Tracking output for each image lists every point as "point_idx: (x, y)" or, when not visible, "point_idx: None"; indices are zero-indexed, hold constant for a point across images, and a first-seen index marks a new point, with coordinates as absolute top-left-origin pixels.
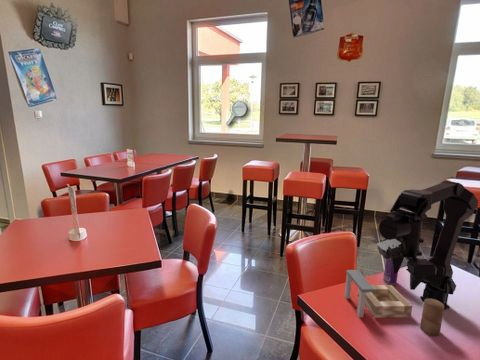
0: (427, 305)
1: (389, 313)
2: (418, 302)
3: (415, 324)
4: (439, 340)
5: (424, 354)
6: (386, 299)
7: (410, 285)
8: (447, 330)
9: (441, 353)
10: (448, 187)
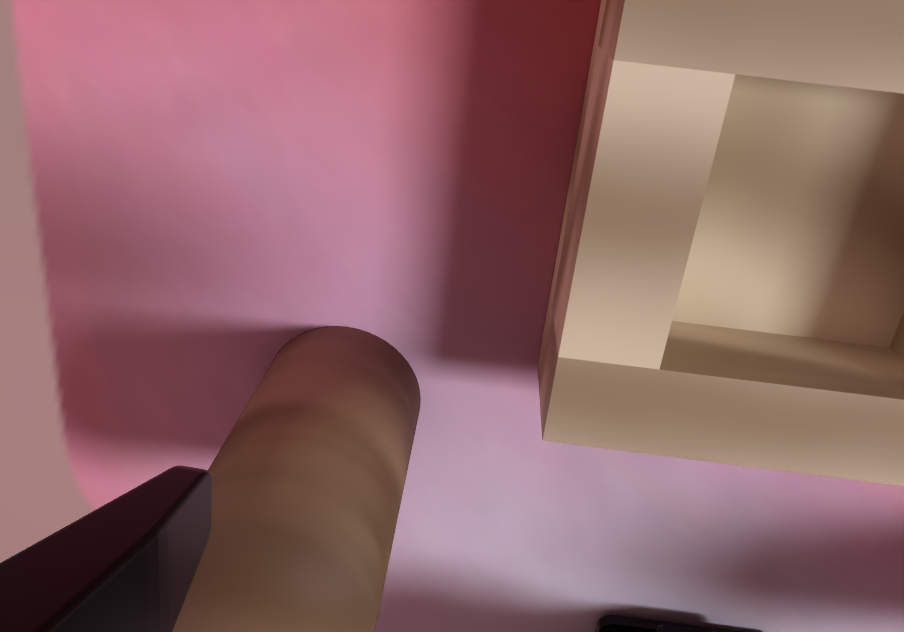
0: (234, 518)
1: (582, 144)
2: (718, 579)
3: (432, 332)
4: (218, 379)
5: (36, 117)
6: (849, 303)
7: (127, 517)
8: None
9: (65, 278)
10: None
